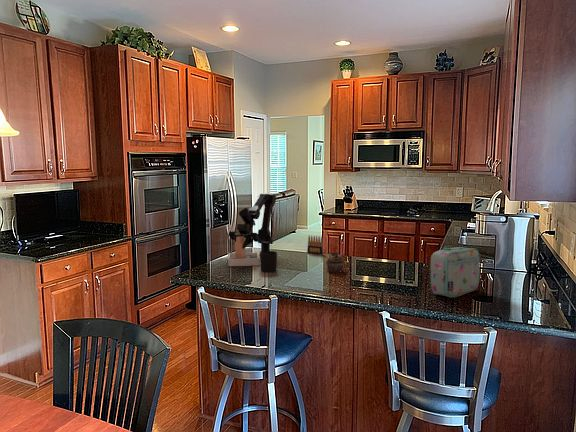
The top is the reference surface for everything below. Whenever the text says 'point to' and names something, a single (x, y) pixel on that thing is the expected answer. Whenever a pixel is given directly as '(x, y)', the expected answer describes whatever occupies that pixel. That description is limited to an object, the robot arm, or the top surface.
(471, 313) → the top surface
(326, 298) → the top surface
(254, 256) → the tray
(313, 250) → the ammunition clip
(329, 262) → the cupcake
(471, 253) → the lunch box
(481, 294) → the top surface
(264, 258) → the pen holder
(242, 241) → the post
